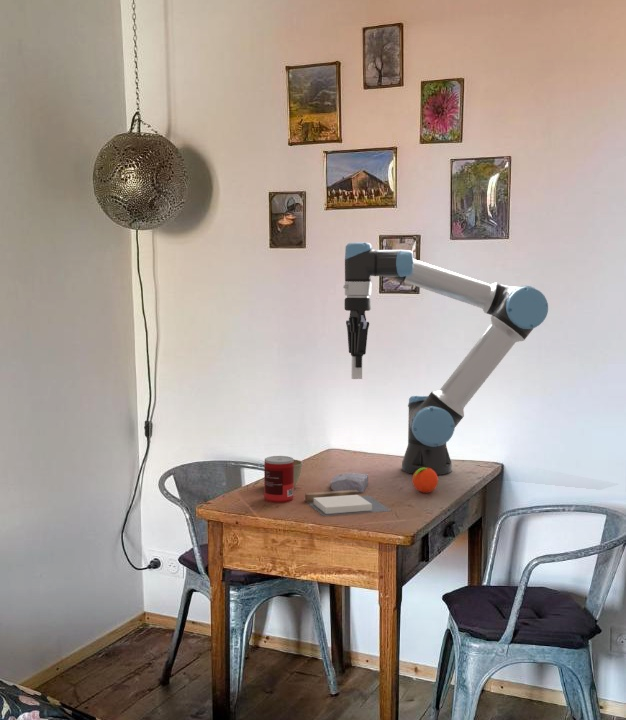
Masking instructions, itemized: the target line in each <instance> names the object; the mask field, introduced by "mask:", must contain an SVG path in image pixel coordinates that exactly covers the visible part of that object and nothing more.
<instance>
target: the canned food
mask: <svg viewBox="0 0 626 720" xmlns="http://www.w3.org/2000/svg"><path fill="white" fill-rule="evenodd" d="M263 462H264V468H263V469H264V472H263V473H264V479H263V480H264V491H263V492H264V493H263V494H264V500H265V501H266V502H270V503H274V504H275V503H276V504H277V503H278V504H281V503H288V502H291V501H293V500H294V497H295V495H294V494H295V492H294V489H295V488H294V487H295V486H294V457H291V456H287V455H286V456H285V455H273V456H268V457H265V458H264V461H263Z"/></svg>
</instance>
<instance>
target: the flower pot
mask: <svg viewBox="0 0 626 720" xmlns="http://www.w3.org/2000/svg"><path fill="white" fill-rule="evenodd" d="M293 459H294V458H293ZM302 467H303V461H301V460H299V459H294V487H295V486H296V484H297V483H298V480H299V478H300V476H301V473H302V469H303V468H302Z"/></svg>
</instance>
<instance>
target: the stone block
mask: <svg viewBox="0 0 626 720" xmlns="http://www.w3.org/2000/svg"><path fill="white" fill-rule="evenodd" d="M368 483H369V474H368V473H357V472H346V473H342V474H341V473H340V474H337V475H335V476H334V477H333V478H332V479H331V481H330V484H329V485H330V489H331V490H332V491H345V490H357V491H359V493H364V492H365V491H366V488H367V486H368Z"/></svg>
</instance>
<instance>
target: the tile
mask: <svg viewBox="0 0 626 720" xmlns="http://www.w3.org/2000/svg"><path fill="white" fill-rule="evenodd" d="M361 496H362V495H360V494H359V495H346V496H332V497H318V498H314V505H315V506H317V507H318V508H319V509H320V510H322V511H323V512H324V513H325V514H334V513H347V512H360V511H371V510H372V504H371V503H370V502H368V501H367V500H365V499H364V498H362V497H361Z"/></svg>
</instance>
